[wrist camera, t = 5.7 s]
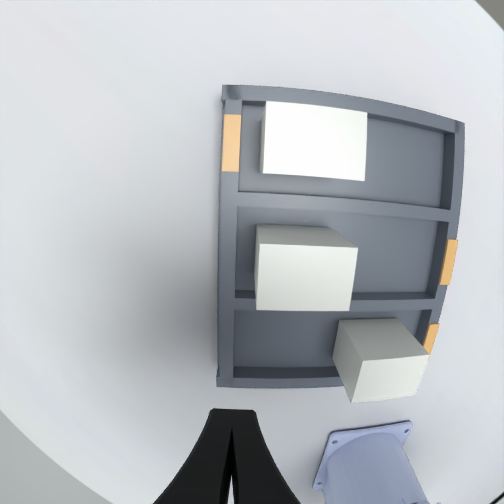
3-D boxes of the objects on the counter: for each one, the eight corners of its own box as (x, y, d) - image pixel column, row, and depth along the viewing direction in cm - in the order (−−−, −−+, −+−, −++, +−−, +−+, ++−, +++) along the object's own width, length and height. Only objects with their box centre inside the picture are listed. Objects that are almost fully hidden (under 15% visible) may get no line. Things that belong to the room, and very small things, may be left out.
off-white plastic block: (334, 177, 16) (364, 181, 12) (258, 172, 16) (263, 173, 11) (336, 126, 15) (367, 112, 11) (261, 119, 15) (266, 100, 11)
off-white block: (325, 276, 17) (348, 310, 13) (254, 274, 17) (256, 309, 13) (330, 227, 17) (358, 248, 12) (256, 224, 17) (259, 243, 12)
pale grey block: (387, 355, 19) (415, 395, 14) (332, 358, 19) (351, 403, 14) (396, 318, 18) (429, 354, 14) (339, 319, 18) (362, 360, 14)
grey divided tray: (407, 359, 21) (421, 379, 18) (219, 365, 20) (216, 388, 18) (443, 126, 16) (466, 122, 14) (225, 95, 16) (222, 83, 14)
